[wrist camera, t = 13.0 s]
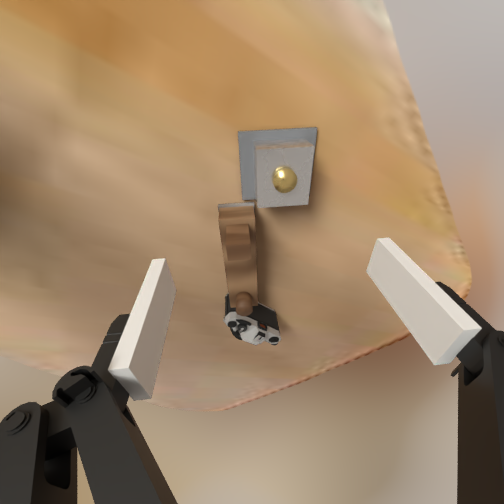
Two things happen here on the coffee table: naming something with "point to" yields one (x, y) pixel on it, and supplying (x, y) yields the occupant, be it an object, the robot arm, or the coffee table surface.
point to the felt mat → (247, 152)
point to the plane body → (239, 254)
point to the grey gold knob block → (282, 171)
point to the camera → (253, 324)
